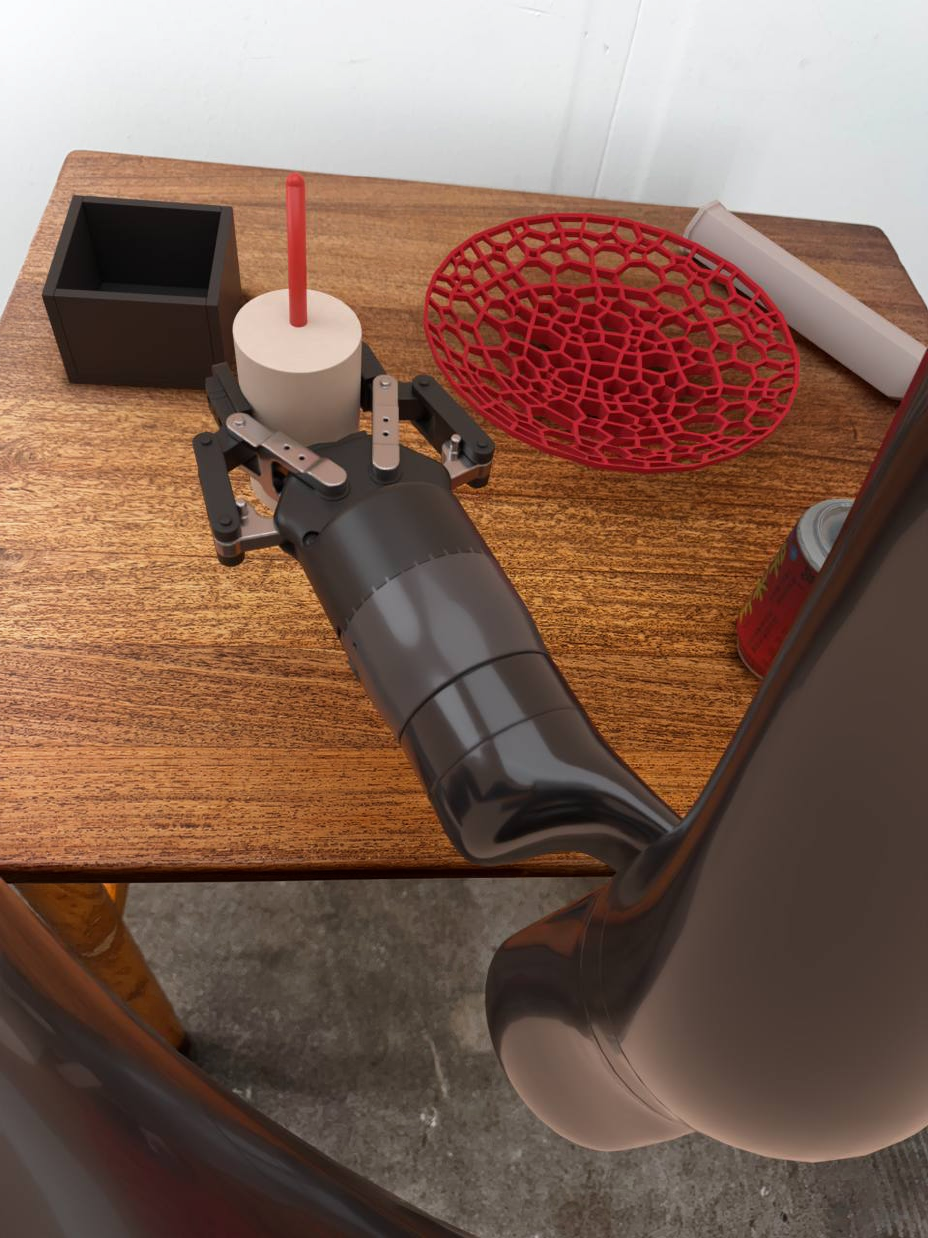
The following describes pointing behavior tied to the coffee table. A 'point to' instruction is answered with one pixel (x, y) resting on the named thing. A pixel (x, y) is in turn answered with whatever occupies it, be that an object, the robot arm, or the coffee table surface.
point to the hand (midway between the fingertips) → (281, 362)
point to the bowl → (608, 349)
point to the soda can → (787, 583)
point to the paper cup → (299, 351)
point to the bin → (144, 292)
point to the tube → (810, 302)
